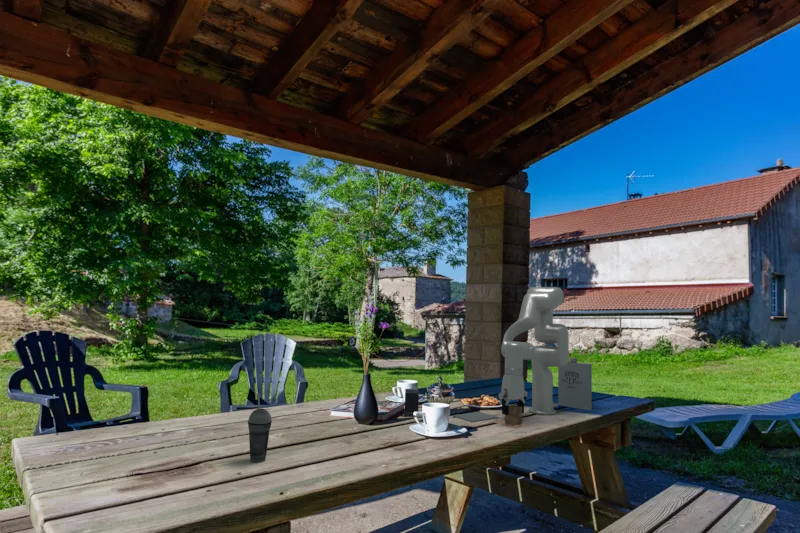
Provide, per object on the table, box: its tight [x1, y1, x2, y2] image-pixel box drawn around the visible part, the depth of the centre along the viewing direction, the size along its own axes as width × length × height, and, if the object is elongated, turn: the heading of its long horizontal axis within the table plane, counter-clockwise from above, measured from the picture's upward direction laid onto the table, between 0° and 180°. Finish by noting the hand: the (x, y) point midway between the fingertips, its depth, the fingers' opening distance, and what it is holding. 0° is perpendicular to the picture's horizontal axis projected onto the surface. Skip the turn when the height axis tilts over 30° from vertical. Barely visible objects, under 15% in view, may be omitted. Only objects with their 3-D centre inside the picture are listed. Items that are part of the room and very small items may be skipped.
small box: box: [403, 388, 420, 417], centre depth 221 cm, size 11×6×10 cm, turn 179°
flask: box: [557, 357, 593, 411], centre depth 249 cm, size 17×5×25 cm, turn 44°
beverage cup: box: [247, 393, 273, 464], centre depth 150 cm, size 7×7×20 cm
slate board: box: [452, 411, 500, 423], centre depth 213 cm, size 16×12×2 cm
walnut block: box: [504, 404, 523, 425], centre depth 204 cm, size 5×5×7 cm
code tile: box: [493, 419, 534, 429], centre depth 204 cm, size 12×12×1 cm
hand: (513, 413), depth 203 cm, fingers open, 9 cm apart
